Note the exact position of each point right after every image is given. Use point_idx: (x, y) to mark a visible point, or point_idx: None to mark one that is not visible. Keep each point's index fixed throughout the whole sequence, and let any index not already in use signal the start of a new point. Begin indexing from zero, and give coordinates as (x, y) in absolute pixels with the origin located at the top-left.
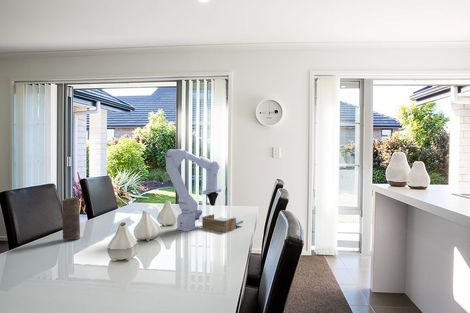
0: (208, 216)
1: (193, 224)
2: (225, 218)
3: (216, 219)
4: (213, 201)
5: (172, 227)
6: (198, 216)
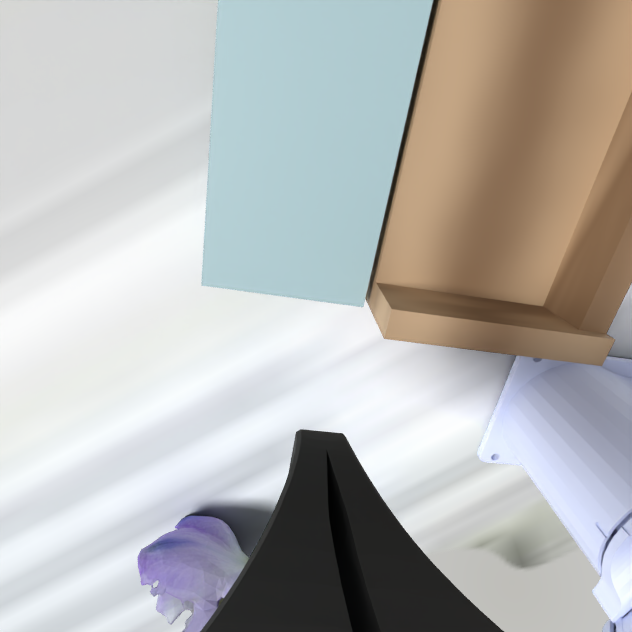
0: (519, 325)
1: (612, 382)
2: (240, 175)
3: (351, 263)
4: (377, 495)
5: (548, 517)
6: (208, 528)
